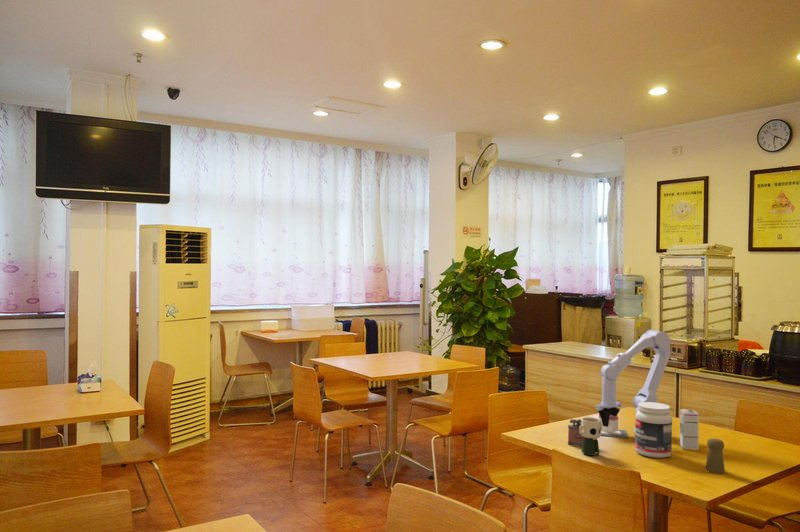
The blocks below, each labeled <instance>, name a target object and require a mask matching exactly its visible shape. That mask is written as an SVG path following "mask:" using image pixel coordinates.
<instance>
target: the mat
mask: <svg viewBox="0 0 800 532" xmlns="http://www.w3.org/2000/svg"><path fill="white" fill-rule="evenodd" d="M600 437H611V438H622V439H629V434H628V433H627V430H626V429H618V431H616V432H610V431H607V430H603V429H602V431H601V436H600Z"/></svg>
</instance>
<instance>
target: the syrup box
mask: <svg viewBox="0 0 800 532" xmlns="http://www.w3.org/2000/svg"><path fill="white" fill-rule="evenodd" d="M699 418H700V415H699V412H697V411H696V410H695V409H689V408H688V409H685V408H684V409H679V447H681V448H682V449H683V450H687V449H695V450H694V451H699V449H700V448H699V441H700V439H699V438H700V437H699V433H700V432H699V430H700V429H699V425H700V424H699V423H700V422H699V420H700V419H699Z"/></svg>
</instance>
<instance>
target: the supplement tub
mask: <svg viewBox="0 0 800 532" xmlns="http://www.w3.org/2000/svg"><path fill="white" fill-rule="evenodd" d="M638 409H639V411H638V412H637V413H636V412H635V421H636V423H635V428H634V429H635V432H634V450H635V451H636V452H637V454H639V455H642V456H644V457H647V458H653V459H664V458H668V457H670V456H671V454H672V443H673V442H672V439H673V438H672V437H673V418H672V417H673V416H672V415H671V414H670V413H671V412H672V410H671V406H670V405H668V404H665V403H662V402H657V403H655V402H641V403H639V404H638Z"/></svg>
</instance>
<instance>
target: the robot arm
mask: <svg viewBox="0 0 800 532" xmlns="http://www.w3.org/2000/svg"><path fill="white" fill-rule="evenodd" d="M671 342H672V340H671V338H670V337H669V334H668V333H667V332H665V331H660V330H656V329H648V330H647V331H645V333H643V334H642V335H641V337H640V338H639V339H638V340H637V341H636V342H635V343H634V344H632V345H631V347H630V348H629V349H627V351H625V352H619V353H617V354H615V357H614V358H613V359H611V361H610V360H609V361H608V362H607V363H608V364H603V366H602V367H601V369H600V370H599V373H600V375H601V402H600V403H599V404H596V405H595V411H597V412H598V415H599V414H600V416H601V420H602V424H603V426H606V427H608V424H609V417H610V415H613V416H617V417H618V414H619V413H620V411H621V407H622V401H617V379H618V378H619V376H620V373H621V372H622V371H623V370H625V369H626V368H627V367H628V366H629V365H630V364H631V363H632V359H633V358H634V357H636V356H637V355H638V354H640V352H642V351H643V350H644V349H647V348H652V349H653V351H654V353H655V355H654V359H653V361H652V363H651V366H650V368H649V371H648V373H647V377H646V379H645V383H644V384H643V386H642V388H640V389H639V390H638V392H637V394H636V395H635V396H634V398H633V399H632V404H633V406H634V407H635V414H636V413H637V412H638V411H639V409H638V404H639V403H641V402H655V403H658V400H659V399H658V398H659V397H658V395H657V392H658V390H659V389H658V388H659V386H660V383H661V381H662V378H663V376H664V373H665V370H666V367H667V365H668V362H669V359H670V357H671V353H672V352H671V345H670V344H671ZM635 423H636V420H635ZM633 432H634V433H635V428H633Z"/></svg>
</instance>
